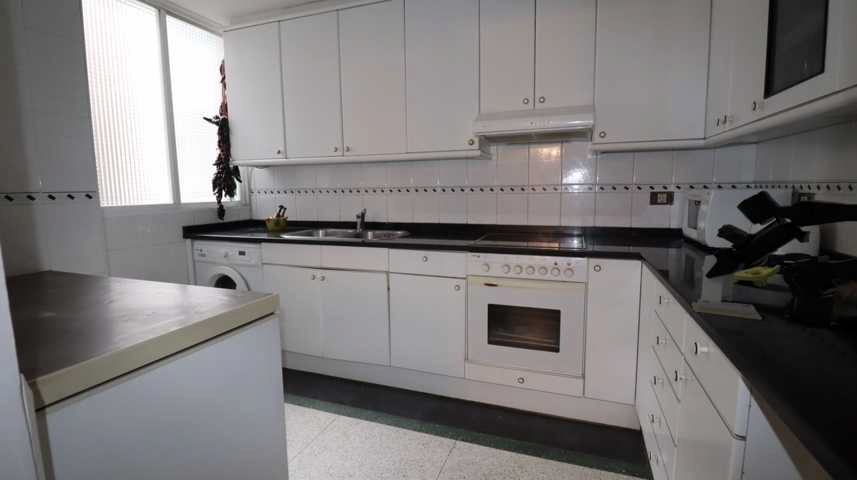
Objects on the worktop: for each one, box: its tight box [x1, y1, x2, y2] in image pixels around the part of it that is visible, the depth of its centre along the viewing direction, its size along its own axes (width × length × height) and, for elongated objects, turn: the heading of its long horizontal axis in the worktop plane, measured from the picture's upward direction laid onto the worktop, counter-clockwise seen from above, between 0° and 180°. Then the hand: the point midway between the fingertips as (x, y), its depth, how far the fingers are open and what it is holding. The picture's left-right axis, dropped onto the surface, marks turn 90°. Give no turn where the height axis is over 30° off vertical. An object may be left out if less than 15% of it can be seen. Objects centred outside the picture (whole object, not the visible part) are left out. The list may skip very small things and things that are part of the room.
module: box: [700, 254, 735, 302], centre depth 107 cm, size 5×7×12 cm
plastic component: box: [701, 264, 781, 288], centre depth 128 cm, size 20×7×10 cm
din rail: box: [691, 298, 763, 320], centre depth 99 cm, size 13×7×2 cm, turn 62°
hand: (712, 275), depth 108 cm, fingers closed on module, 7 cm apart
